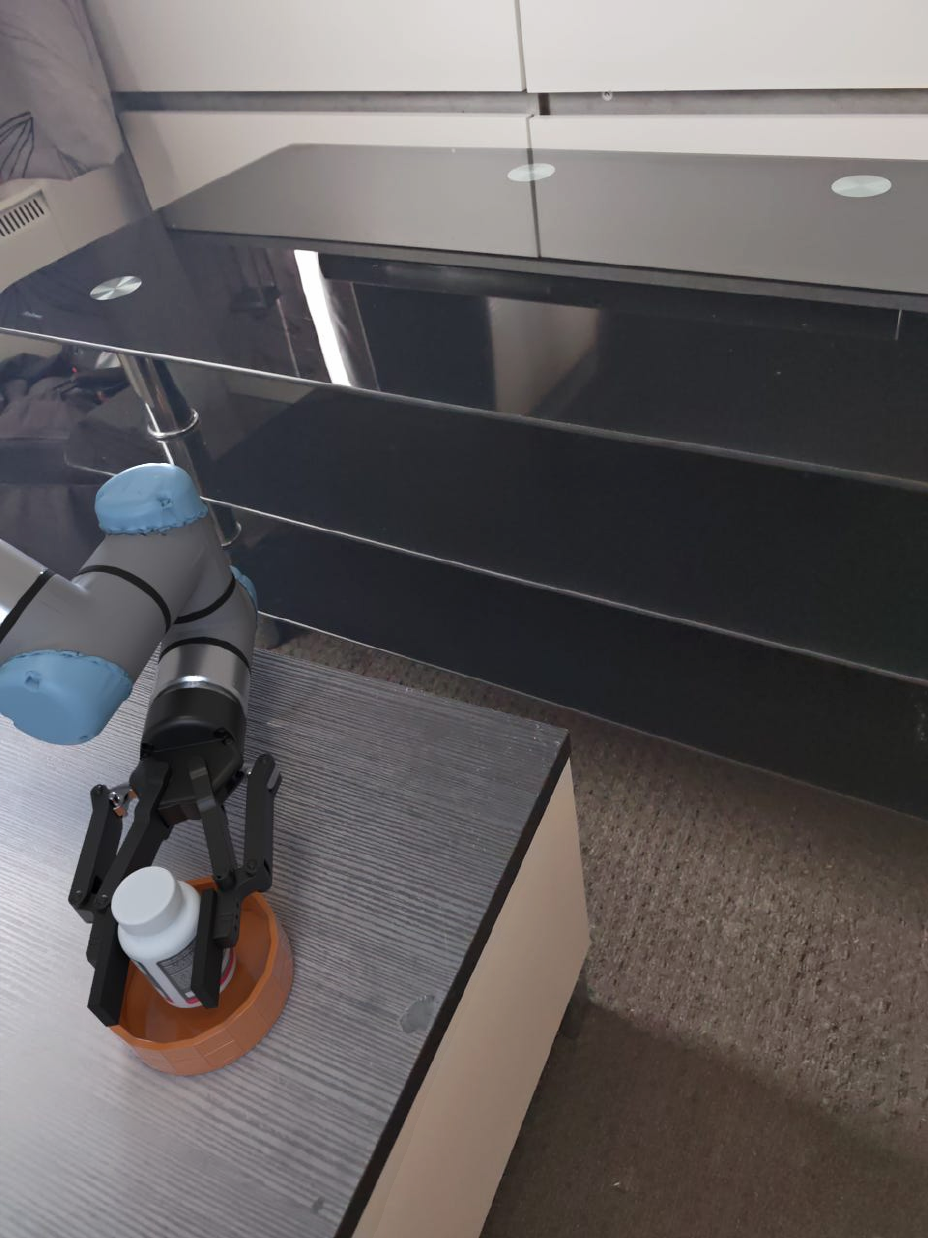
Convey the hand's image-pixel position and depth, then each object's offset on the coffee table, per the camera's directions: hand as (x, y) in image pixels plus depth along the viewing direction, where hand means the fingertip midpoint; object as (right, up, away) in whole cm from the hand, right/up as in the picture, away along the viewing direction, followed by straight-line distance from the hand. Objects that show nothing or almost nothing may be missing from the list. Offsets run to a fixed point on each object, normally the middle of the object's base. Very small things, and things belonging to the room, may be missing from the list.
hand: (153, 1006), depth 54 cm
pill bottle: (0, -1, +8) cm, 8 cm away
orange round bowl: (+1, -2, +9) cm, 10 cm away
